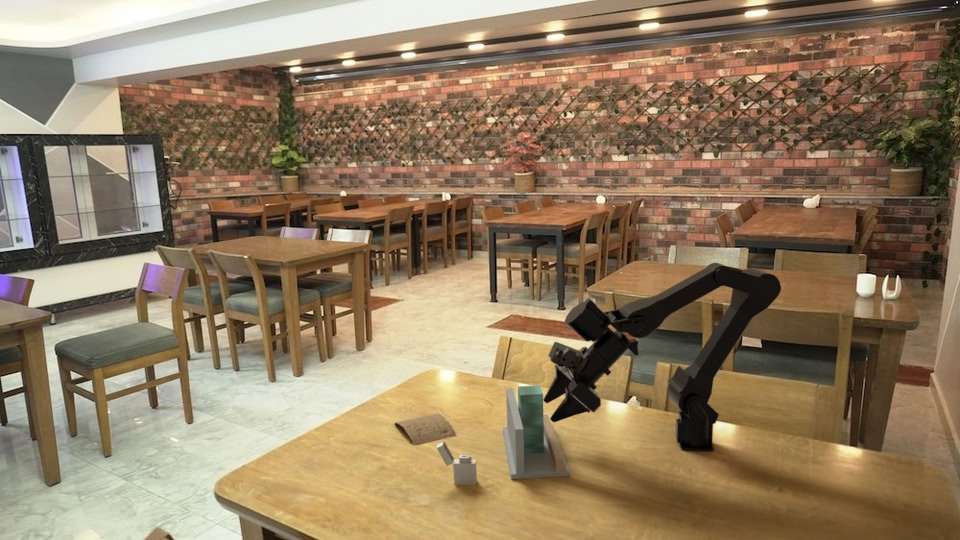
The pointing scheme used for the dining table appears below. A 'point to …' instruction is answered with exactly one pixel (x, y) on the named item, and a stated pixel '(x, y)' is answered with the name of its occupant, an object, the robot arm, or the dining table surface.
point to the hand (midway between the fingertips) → (548, 410)
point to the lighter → (459, 466)
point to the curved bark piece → (427, 429)
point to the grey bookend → (531, 463)
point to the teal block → (531, 418)
